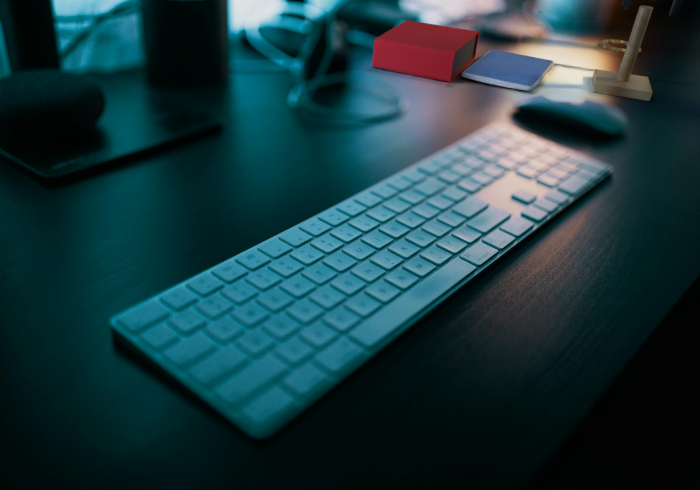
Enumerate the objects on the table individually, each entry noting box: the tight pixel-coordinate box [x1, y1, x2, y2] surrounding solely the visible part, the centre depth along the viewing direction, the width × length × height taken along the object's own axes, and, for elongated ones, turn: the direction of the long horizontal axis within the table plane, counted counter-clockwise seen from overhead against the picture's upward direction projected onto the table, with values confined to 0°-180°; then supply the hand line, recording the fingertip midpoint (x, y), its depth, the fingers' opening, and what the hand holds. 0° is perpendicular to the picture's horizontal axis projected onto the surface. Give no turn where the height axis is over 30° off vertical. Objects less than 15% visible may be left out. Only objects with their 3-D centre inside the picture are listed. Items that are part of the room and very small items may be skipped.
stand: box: [592, 5, 654, 102], centre depth 98 cm, size 9×9×14 cm
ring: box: [598, 38, 642, 54], centre depth 123 cm, size 8×8×1 cm
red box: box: [371, 19, 480, 83], centre depth 106 cm, size 18×14×5 cm
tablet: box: [461, 49, 555, 92], centre depth 105 cm, size 19×13×1 cm, turn 153°
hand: (648, 12), depth 118 cm, fingers open, 8 cm apart
